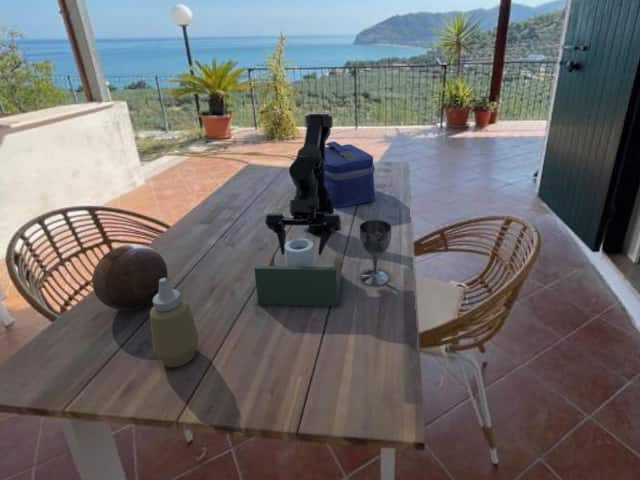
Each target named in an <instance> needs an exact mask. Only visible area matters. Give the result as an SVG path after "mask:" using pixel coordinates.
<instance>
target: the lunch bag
mask: <svg viewBox="0 0 640 480" xmlns="http://www.w3.org/2000/svg"><path fill="white" fill-rule="evenodd" d="M374 173H375V165H374V156H373V155H372V154H370V153H368V152H366V151H364V150H363V149H361V148H359V147H357V146H355V145H353V144H351V143H349V144H348V143H347V144H340V143H338V142H337V141H335V140H334V141H329V142H327V143H325V187H326V189H327V191H328V192H329V198H331V201H332V202H333V208H339V207H348V206H353V205H359V204H364V203H369V202H372V201H374V200H375V196H376V193H375V175H374Z"/></svg>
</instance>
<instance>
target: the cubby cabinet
mask: <svg viewBox="0 0 640 480" xmlns="http://www.w3.org/2000/svg"><path fill="white" fill-rule="evenodd" d="M275 256H276V253H275V252H268V253H267V255H266V257H265V259H264V261H263V263H262V265H255V267H254V277H255V279H254V280H255V287H256V294H257V295H256V296H257V304H258V306H259V305H262V306H265V305H267V306H312V307H313V306H315V307H338V303H339V296H340V290H341V289H340V288H341V282H342V281H341V279H342V257H343V254H342V253H335V255H334V259H333V266H314V267H294V266H286V265H285V266H284V265H276V263H275Z"/></svg>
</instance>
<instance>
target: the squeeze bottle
mask: <svg viewBox="0 0 640 480" xmlns="http://www.w3.org/2000/svg"><path fill="white" fill-rule="evenodd" d="M152 304H153V306H152V307H151V309H150V311H149V319H150V330H151V341H152V348H153V353H154V354H155V356H156V357H157V358H158V359H159V360H160V362H162V364H163V365H164V366H166V367H167V368H178V367H182V366H184V365H186V364H188V363H189V362H190V361H192V360H193V359H194V357H195V355H196V351H197V346H198V341H199V336H200V335H199V333H198V329H197V327H196V324H195V320H194V318H193V315H192V312H191V309H190V306H189V302H188V301H187V300H186V299H184V298H183V297H182V295H181V292H180V290H177V289H173V288H172V287H171V285H170V283H169V281H168V278H167V279H166V278H161V279H160V280H159V293H158V294H157V295H156V296H155V297H154V298H153V301H152Z"/></svg>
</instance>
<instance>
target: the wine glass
mask: <svg viewBox="0 0 640 480" xmlns="http://www.w3.org/2000/svg"><path fill="white" fill-rule="evenodd" d="M359 239H360V244H361V247H362V249H363V250H364V252H366V253H367V254H368V255H369V257H370V258H371V260H372V266H373V269H372V270H368V271H365V272H364V273H362V275H361V277H360V279H361V281H362V282H363V283H364V284H366V285H368V286H371V287H373V286H374V287H377V286H378V287H379V286H383V285H384V284H386V283H387V282H388V281H389V276H388V274H386V272H384V271H381V270H377V265H378V260H379V258H380V257H381V256H382V255H383V254H384V253H385V252H386V251H387V250H388V248H389V246H390V243H391V239H392V225H391V224H390V223H389V222H387V221H384V220H381V219H380V220H378V219H371V220H366V221H363V222H362V223H361V224H360V225H359Z"/></svg>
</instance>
